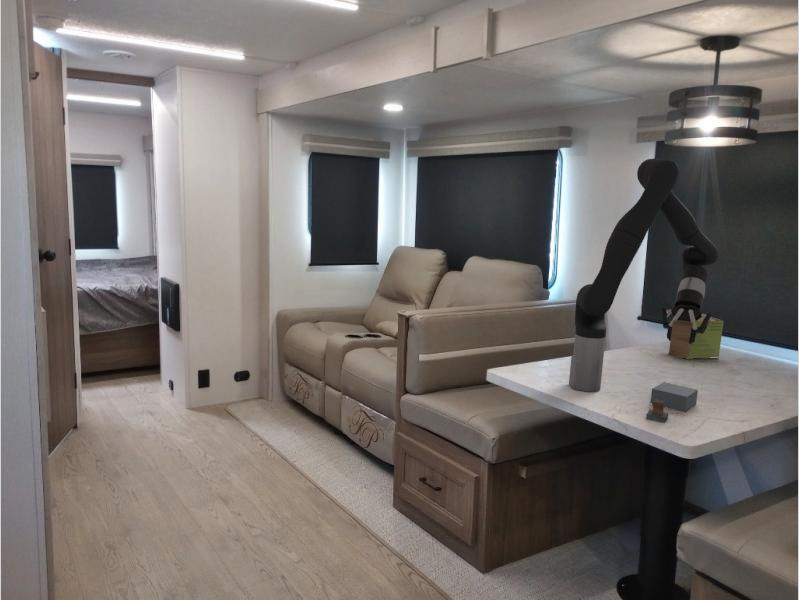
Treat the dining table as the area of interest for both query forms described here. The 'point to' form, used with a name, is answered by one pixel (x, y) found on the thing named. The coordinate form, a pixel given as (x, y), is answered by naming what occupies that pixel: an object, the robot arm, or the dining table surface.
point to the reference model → (657, 412)
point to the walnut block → (680, 338)
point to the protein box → (707, 340)
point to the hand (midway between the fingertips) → (680, 340)
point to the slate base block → (675, 396)
